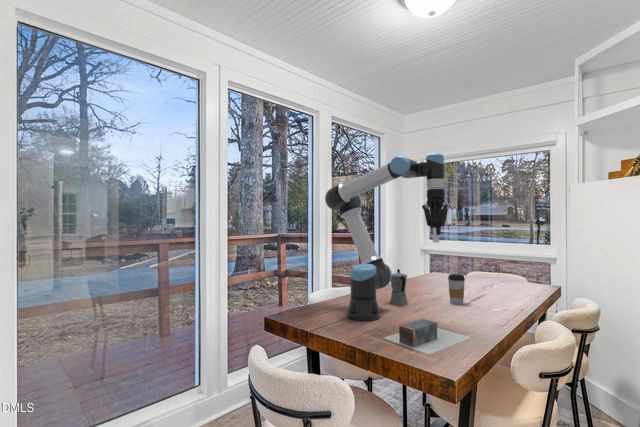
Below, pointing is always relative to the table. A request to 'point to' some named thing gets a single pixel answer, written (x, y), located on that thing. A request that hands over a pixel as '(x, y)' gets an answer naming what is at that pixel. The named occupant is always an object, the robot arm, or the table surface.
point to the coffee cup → (456, 288)
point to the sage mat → (434, 341)
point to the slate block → (417, 332)
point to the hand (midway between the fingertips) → (436, 242)
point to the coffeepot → (398, 288)
